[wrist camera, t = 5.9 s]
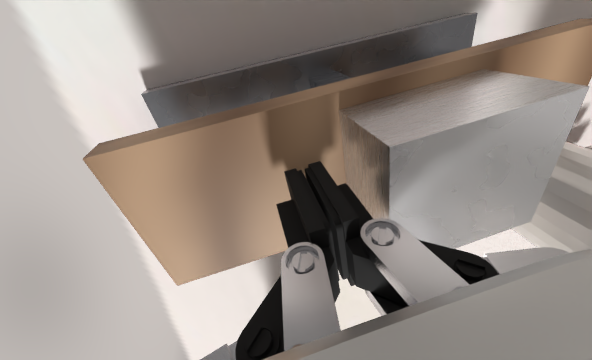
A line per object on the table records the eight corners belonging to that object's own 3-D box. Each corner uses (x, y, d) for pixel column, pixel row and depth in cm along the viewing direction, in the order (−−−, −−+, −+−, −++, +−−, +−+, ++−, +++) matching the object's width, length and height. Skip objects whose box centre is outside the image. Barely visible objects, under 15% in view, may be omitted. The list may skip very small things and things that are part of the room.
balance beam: (579, 18, 13) (617, 17, 12) (530, 154, 17) (553, 164, 16) (99, 143, 11) (82, 159, 9) (181, 264, 15) (177, 285, 14)
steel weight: (483, 69, 11) (589, 86, 8) (461, 177, 15) (531, 221, 11) (338, 110, 11) (390, 147, 7) (349, 214, 14) (388, 271, 11)
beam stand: (464, 13, 19) (581, 7, 13) (447, 124, 24) (526, 160, 18) (146, 90, 17) (97, 128, 11) (198, 194, 22) (186, 262, 16)
